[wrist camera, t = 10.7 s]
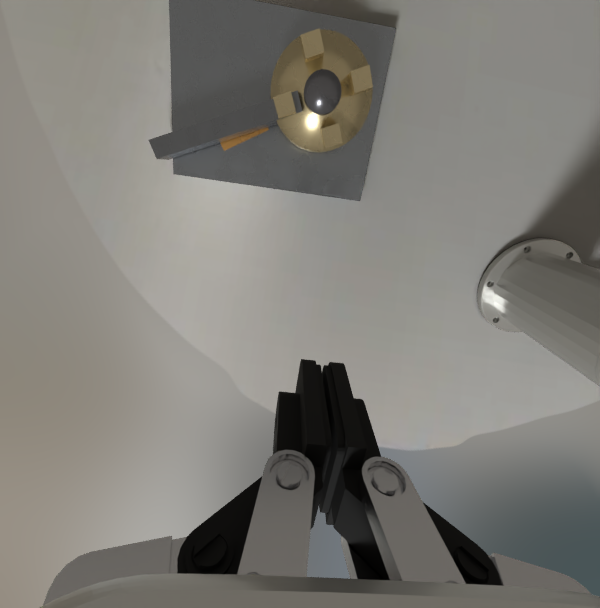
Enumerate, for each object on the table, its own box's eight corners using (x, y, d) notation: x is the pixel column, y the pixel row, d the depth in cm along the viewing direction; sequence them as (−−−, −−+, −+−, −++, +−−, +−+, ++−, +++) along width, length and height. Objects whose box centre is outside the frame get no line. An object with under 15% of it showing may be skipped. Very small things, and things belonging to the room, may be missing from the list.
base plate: (391, 34, 29) (396, 27, 28) (357, 199, 35) (360, 201, 34) (174, -7, 27) (168, -17, 26) (178, 173, 33) (173, 174, 32)
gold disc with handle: (373, 137, 31) (383, 133, 28) (184, 196, 33) (172, 199, 29) (355, 27, 27) (364, 7, 24) (144, 100, 29) (124, 91, 26)
